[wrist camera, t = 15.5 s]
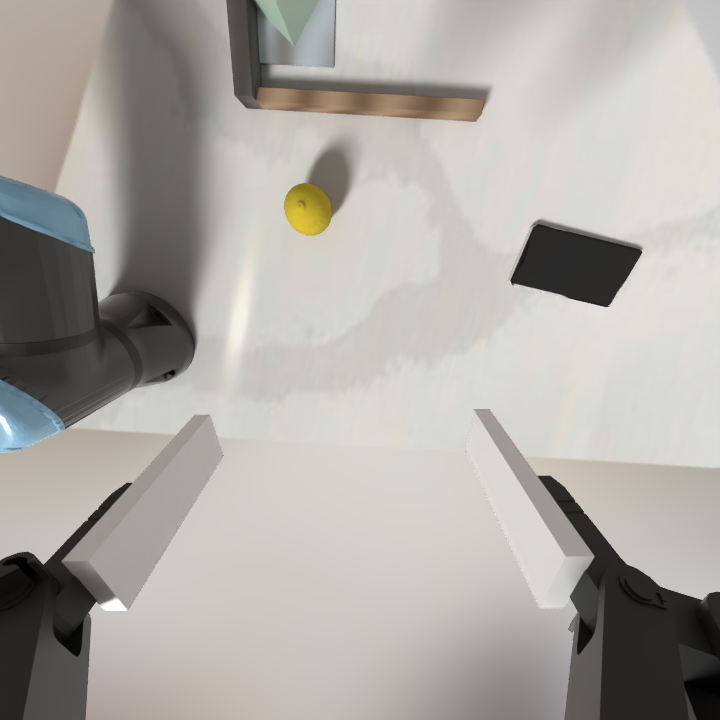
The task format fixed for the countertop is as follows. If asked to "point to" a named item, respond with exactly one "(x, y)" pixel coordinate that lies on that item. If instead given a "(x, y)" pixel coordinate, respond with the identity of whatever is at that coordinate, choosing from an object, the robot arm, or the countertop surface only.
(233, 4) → the track
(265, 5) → the block
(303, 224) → the lemon
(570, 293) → the smartphone
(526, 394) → the countertop surface
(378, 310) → the countertop surface
